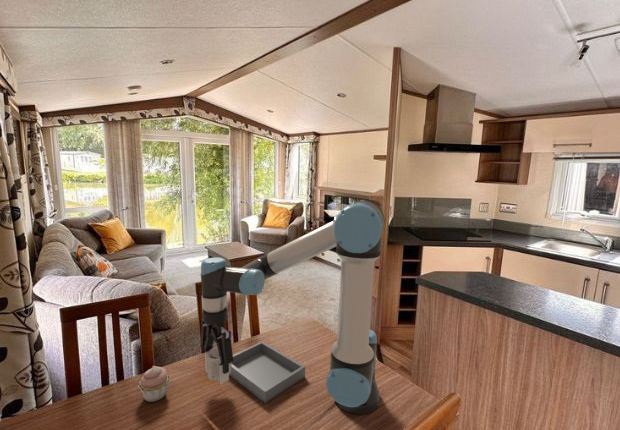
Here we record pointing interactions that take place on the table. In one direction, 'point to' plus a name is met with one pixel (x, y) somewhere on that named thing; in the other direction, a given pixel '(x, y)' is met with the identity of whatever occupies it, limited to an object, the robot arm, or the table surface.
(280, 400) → the table surface
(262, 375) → the box
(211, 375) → the cup
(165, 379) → the cupcake
